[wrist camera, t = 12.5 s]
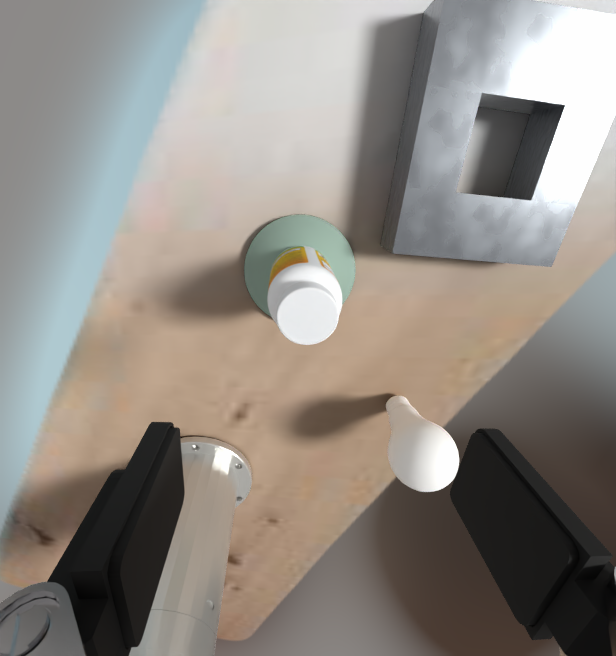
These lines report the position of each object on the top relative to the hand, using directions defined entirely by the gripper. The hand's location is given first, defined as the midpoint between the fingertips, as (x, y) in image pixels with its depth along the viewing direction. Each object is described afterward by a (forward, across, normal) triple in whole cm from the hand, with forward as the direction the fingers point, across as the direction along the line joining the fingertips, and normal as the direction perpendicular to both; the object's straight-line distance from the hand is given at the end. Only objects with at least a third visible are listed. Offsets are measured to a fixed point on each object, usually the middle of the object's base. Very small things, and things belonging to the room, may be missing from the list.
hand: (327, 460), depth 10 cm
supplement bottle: (+21, 0, -1) cm, 21 cm away
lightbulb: (+22, -12, +13) cm, 28 cm away
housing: (+21, -14, -12) cm, 28 cm away
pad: (+21, 0, -1) cm, 21 cm away
